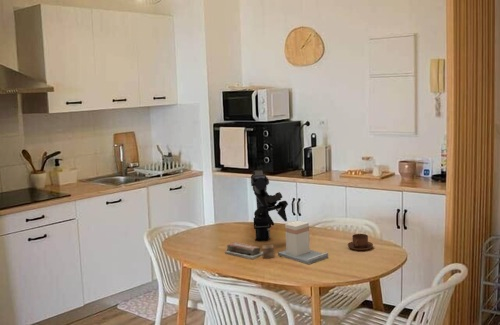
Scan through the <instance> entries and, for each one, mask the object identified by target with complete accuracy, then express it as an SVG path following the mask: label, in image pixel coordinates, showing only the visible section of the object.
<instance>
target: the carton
mask: <svg viewBox="0 0 500 325" xmlns="http://www.w3.org/2000/svg"><path fill="white" fill-rule="evenodd" d="M284 227H285V228H284V229H285V230H284V232H285V250H286V253H288V254H292V255H295V256H299V255H302V254H305V253H308V252H310V250H311V248H310V247H311V246H310V225H309V222H306V221H301V220H296V221H292V222H289V223H285V225H284Z"/></svg>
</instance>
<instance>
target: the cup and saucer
mask: <svg viewBox="0 0 500 325" xmlns="http://www.w3.org/2000/svg"><path fill="white" fill-rule="evenodd" d="M351 238H352V241H351V242H348V243H347V246H348V248H350V249H351V250H355V251H368V250H369V249H370V250H371V249H372V248H373V246H374V243H373V242H371V241H369V236H368V234H366V233H365V234H364V233H356V234H353V235H352V237H351Z"/></svg>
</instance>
